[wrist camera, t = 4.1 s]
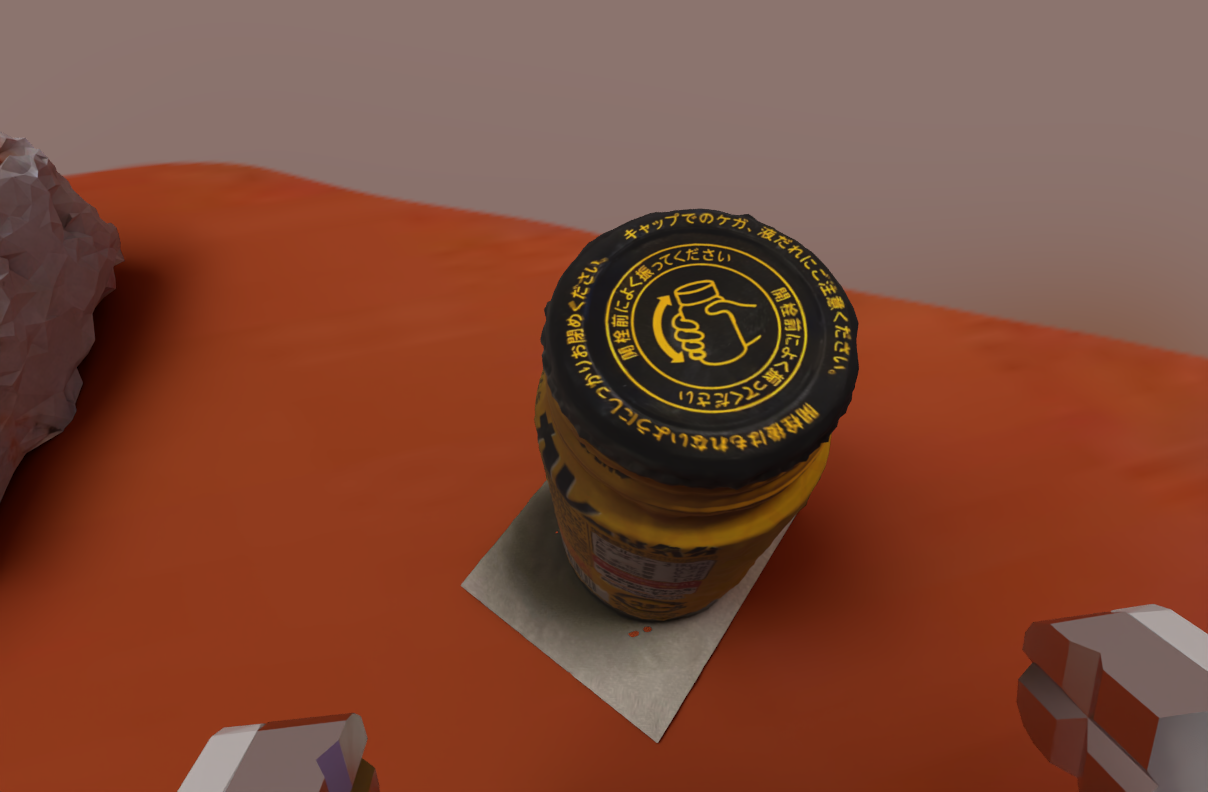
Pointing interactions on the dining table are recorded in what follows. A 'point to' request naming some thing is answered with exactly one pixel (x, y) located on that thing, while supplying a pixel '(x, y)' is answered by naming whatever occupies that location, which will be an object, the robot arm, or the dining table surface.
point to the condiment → (669, 447)
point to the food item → (45, 297)
